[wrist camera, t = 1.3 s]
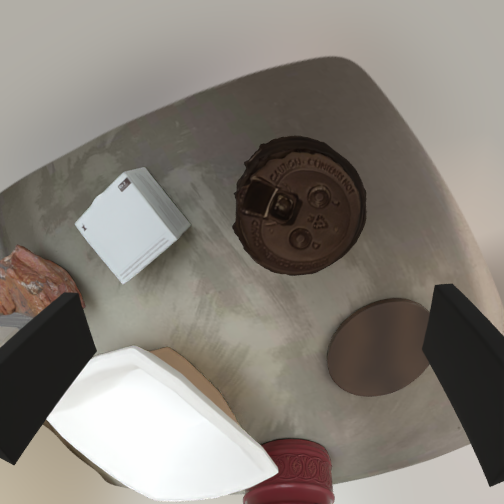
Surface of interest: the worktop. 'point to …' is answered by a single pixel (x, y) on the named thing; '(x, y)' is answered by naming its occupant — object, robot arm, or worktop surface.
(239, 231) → the coffee cup
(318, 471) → the kitchen canister
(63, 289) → the stone
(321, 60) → the worktop surface
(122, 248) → the small box
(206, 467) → the bowl
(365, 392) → the coaster
